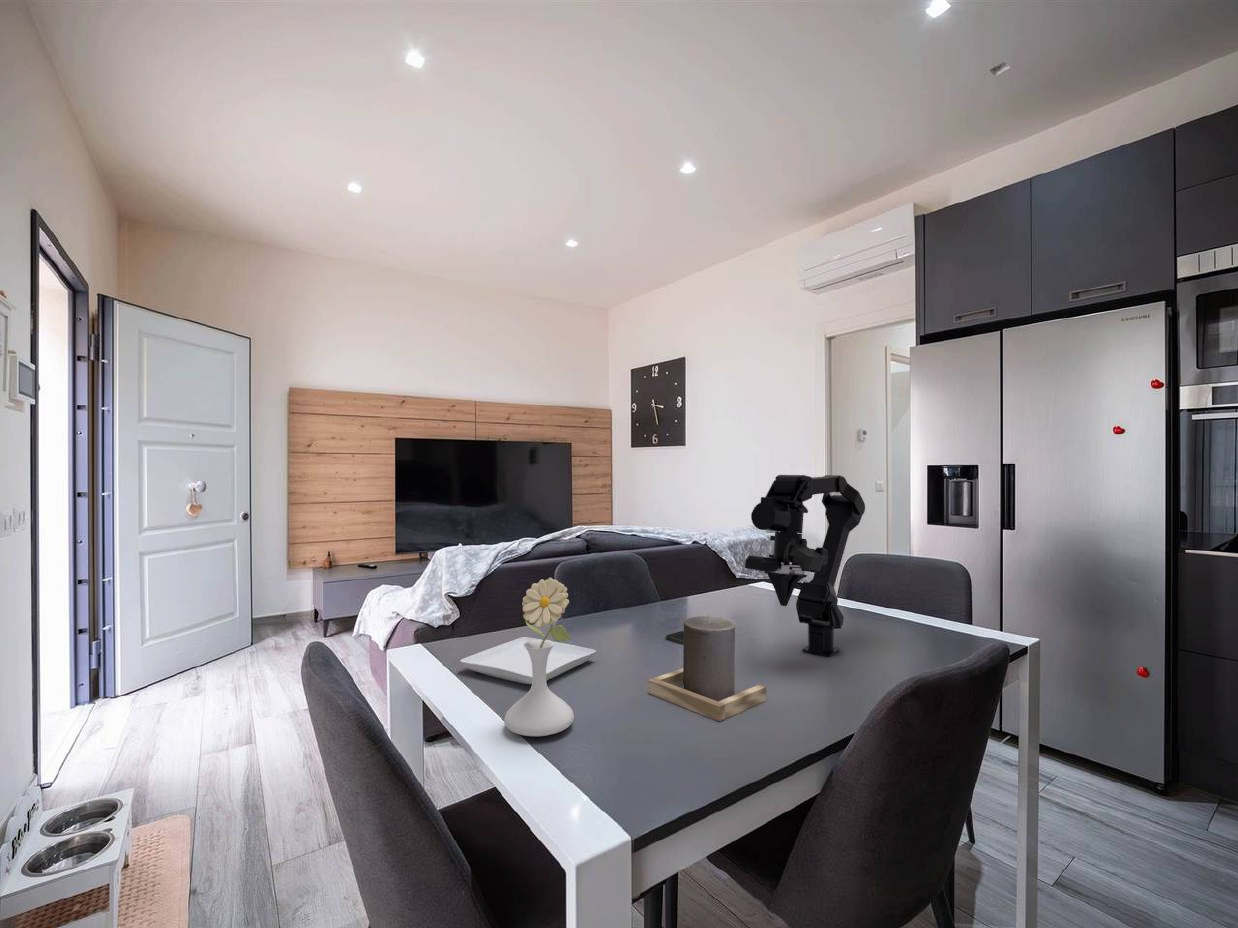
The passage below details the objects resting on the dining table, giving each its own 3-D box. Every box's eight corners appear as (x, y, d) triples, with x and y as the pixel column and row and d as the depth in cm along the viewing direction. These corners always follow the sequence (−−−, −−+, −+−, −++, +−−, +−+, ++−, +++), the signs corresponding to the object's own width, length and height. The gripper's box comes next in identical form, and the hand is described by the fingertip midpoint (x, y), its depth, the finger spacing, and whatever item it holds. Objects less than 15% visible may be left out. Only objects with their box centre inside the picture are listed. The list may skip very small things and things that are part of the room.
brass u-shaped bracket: (695, 676, 122) (695, 663, 122) (766, 700, 109) (766, 686, 109) (648, 692, 113) (648, 679, 113) (719, 721, 100) (719, 706, 100)
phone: (684, 630, 154) (731, 642, 143) (684, 634, 154) (731, 647, 143) (663, 636, 148) (711, 649, 137) (663, 640, 148) (711, 654, 137)
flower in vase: (490, 727, 98) (490, 575, 98) (545, 708, 106) (545, 567, 106) (538, 755, 89) (538, 586, 89) (595, 731, 97) (594, 576, 97)
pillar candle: (672, 694, 112) (672, 615, 112) (705, 681, 119) (706, 606, 119) (712, 711, 105) (713, 625, 105) (746, 696, 111) (746, 616, 111)
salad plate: (523, 648, 142) (523, 634, 142) (598, 663, 131) (598, 648, 131) (456, 675, 124) (456, 659, 124) (537, 695, 113) (537, 677, 113)
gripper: (784, 532, 117) (779, 612, 116) (848, 538, 127) (844, 612, 125) (745, 528, 127) (740, 602, 126) (808, 534, 136) (803, 603, 135)
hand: (783, 605), depth 128 cm, fingers closed
